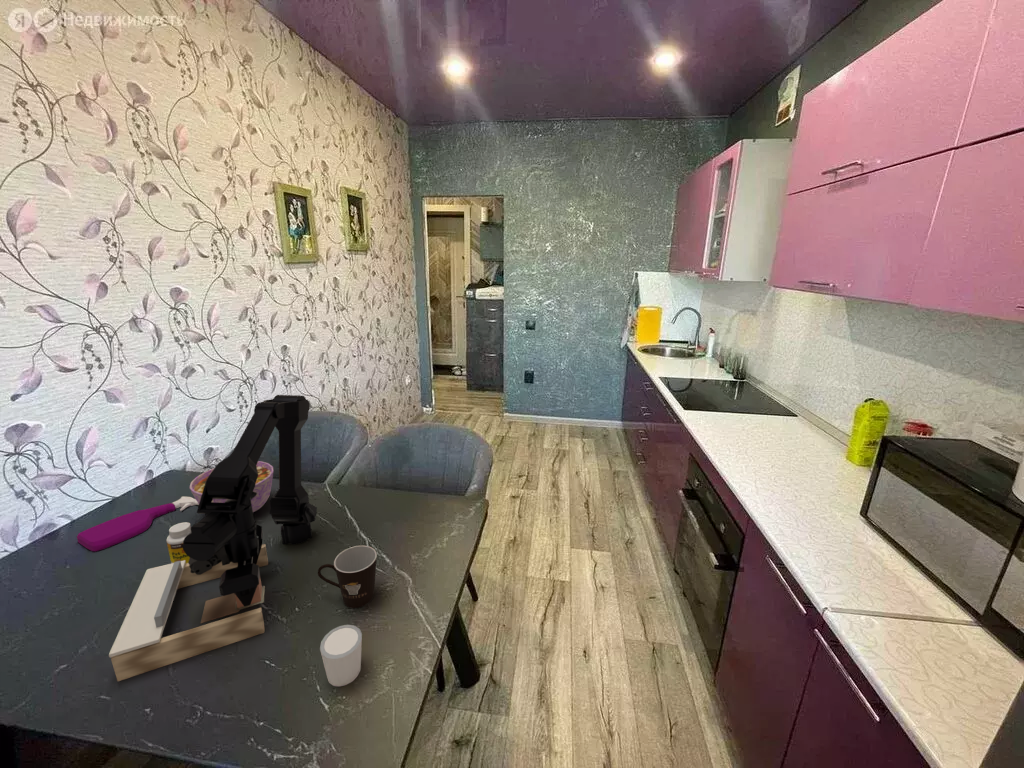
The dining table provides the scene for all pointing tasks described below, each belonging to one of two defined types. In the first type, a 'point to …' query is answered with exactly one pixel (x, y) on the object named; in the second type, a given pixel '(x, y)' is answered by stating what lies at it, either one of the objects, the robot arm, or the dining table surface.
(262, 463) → the bowl of food
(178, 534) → the supplement bottle
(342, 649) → the white cylinder
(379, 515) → the dining table surface
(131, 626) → the lid
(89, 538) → the spray bottle
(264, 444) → the robot arm
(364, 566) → the coffee mug
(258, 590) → the coral block
